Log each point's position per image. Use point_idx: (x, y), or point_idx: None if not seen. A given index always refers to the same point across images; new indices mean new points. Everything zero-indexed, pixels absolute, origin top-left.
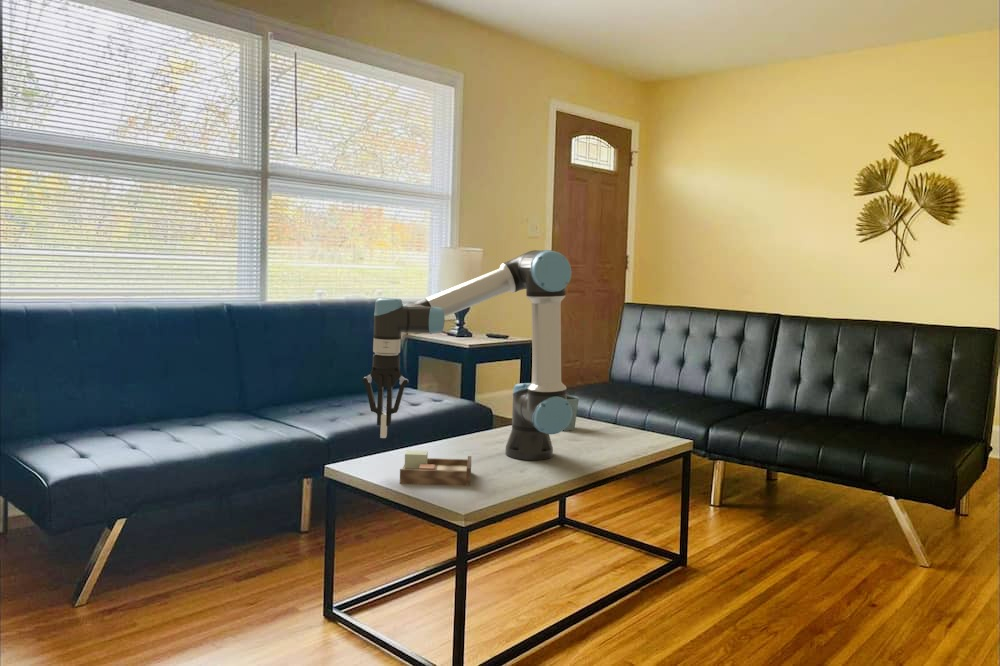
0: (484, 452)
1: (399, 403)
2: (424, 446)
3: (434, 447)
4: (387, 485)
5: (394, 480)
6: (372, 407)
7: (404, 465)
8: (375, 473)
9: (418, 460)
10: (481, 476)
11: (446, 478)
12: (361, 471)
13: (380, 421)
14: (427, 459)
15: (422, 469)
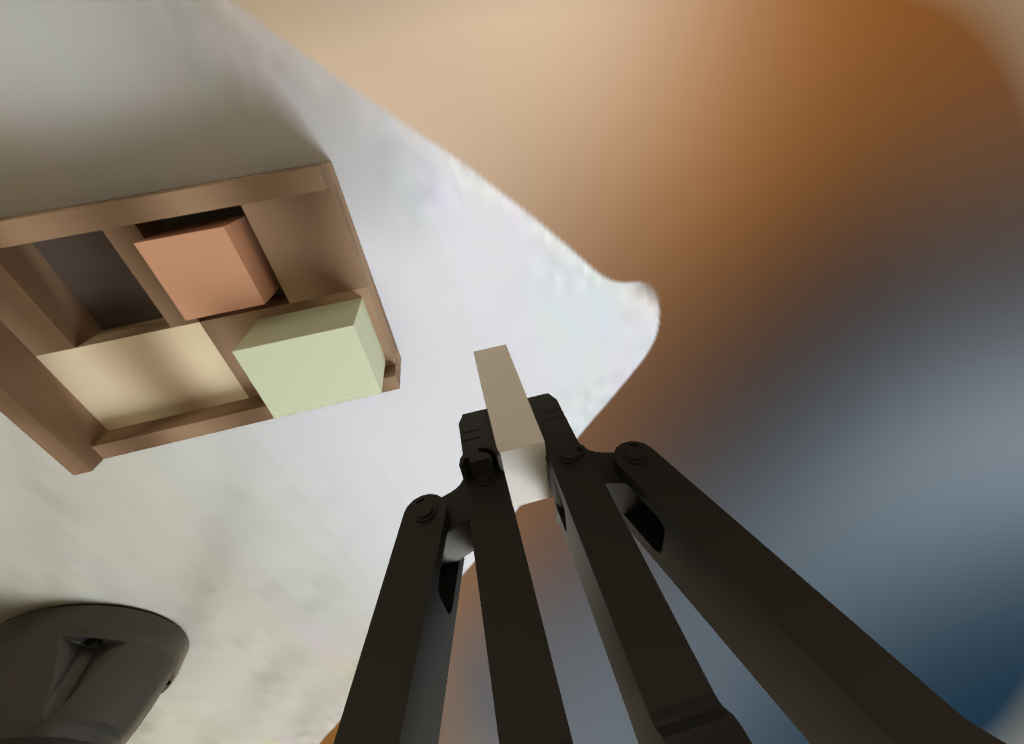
0: (252, 608)
1: (382, 605)
2: None
3: None
4: (380, 125)
5: (385, 221)
6: (650, 470)
7: (383, 338)
8: (498, 295)
9: (286, 328)
10: None
11: (55, 210)
12: (555, 303)
13: (535, 415)
14: None
15: (206, 228)
